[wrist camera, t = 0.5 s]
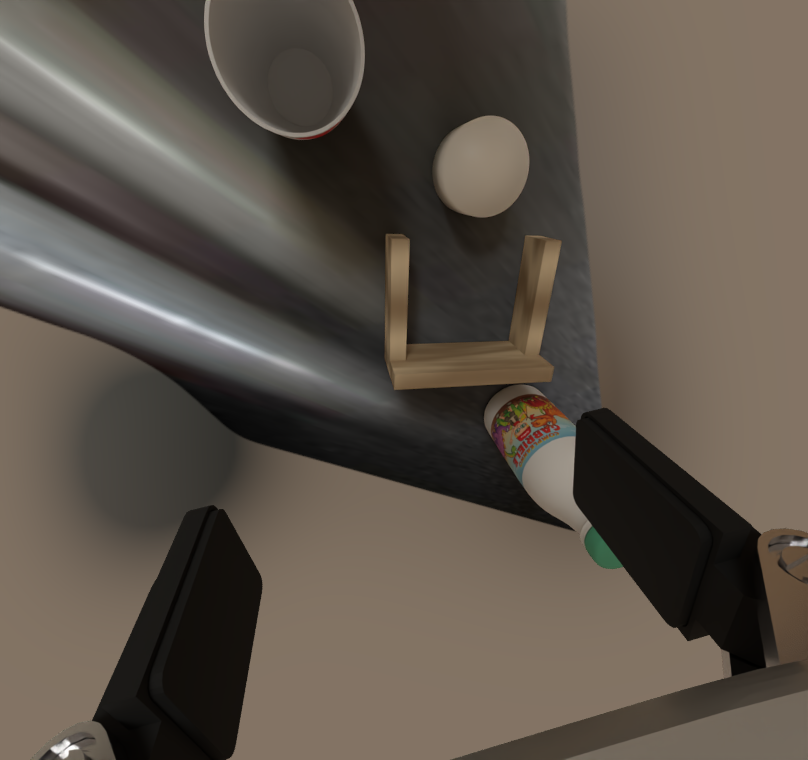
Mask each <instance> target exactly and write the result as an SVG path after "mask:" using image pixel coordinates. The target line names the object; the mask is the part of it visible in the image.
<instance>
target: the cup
mask: <svg viewBox="0 0 808 760" xmlns="http://www.w3.org/2000/svg"><path fill="white" fill-rule="evenodd" d="M204 28H205V38H206V44H207V49H208V53H209V56H210V60H211V63H212V65H213V68H214V70H215V73H216V75H217V77H218V79H219V81H220V83H221V85H222V86H223V88H224V90H225V91H226V93H227V94H228V96H229V97H230V98H231V100H232V101H233V102H234V103H235V105H236V106H237V107H238V108H239V109H240V110H241V111H242V112H243V113H244V114H245V115H246V116H247V117H249V118H250V119H251V120H252V121H254V122H255V123H257V124H258V125H260V126H262V127H263V128H265V129H267V130H269V131H272V132H274V133H276V134H279V135H281V136H284V137H287V138H290V139H296V140H309V139H315V138H318V137H321V136H323V135H325V134H327V133H329V132H330V131H332V130H333V129H334V128H335V127H336V126H337V125H338V124H339V123H340V122H341V121H342V120H343V118H344V117H345V115H346V114H347V112H348V111H349V109H350V108H351V106H352V104H353V103H354V101H355V99H356V97H357V94H358V92H359V89H360V86H361V82H362V78H363V72H364V63H365V47H364V37H363V31H362V27H361V23H360V19H359V16H358V13H357V10H356V7H355V5H354V3H353V0H206V3H205V13H204Z"/></svg>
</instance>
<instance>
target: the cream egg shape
mask: <svg viewBox="0 0 808 760" xmlns="http://www.w3.org/2000/svg"><path fill="white" fill-rule="evenodd" d="M528 172H529V151H528V147H527V144H526V141H525V139H524V137H523V135H522V133H521V132H520V130H519V129H518V128H517V127H516V126H515V125H514V124H513V123H511V122H510V121H509V120H507V119H505V118H502V117H499V116H483V117H479V118H476V119H474V120H472V121H469V122H467V123H465V124H463V125H461V126H459V127H457V128H455V129H454V130H452V131H451V132H450V133H449V134H447V135H446V137H445V138H444V139H443V140H442V142H441V143H440V145H439V147H438V149H437V151H436V153H435V156H434V160H433V167H432V178H433V184H434V187H435V190H436V193H437V195H438V197H439V198H440V200H441V201H442V202H443V203H444V204H445V205H446V206H447V207H448V208H449V209H451V210H453V211H455V212H457V213H461V214H465V215H470V216H474V217H481V218H482V217H491V216H494V215H497V214H499V213H501V212H503V211H504V210H506V209H507V208H509V207H510V206H511V205H512V204H513V203H514V202H515V201H516V199H517V198H518V197H519V195H520V194H521V192H522V190H523V188H524V186H525V183H526V180H527V177H528Z"/></svg>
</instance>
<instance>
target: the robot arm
mask: <svg viewBox="0 0 808 760" xmlns="http://www.w3.org/2000/svg"><path fill="white" fill-rule="evenodd" d="M573 498H574V500H575V503H576V505H577V506H578V508H579V509H580V510H581V512H582V513H583V514H584V516H585V517H586V518H587V519H588V521H589V522H590V523H591V525H592V526H593V527H594V529H595V530H596V531H597V533H598V534H599V535H600V537H601V538H602V539H603V540H604V542H605V543H606V544H607V546H608V547H609V548H610V550H611V551H612V552H613V554H614V555H615V556H616V558H617V559H618V560H619V561H620V563H621V564H622V565H623V567H624V568H625V569H626V571H627V572H628V573H629V575H630V576H631V577H632V578H633V580H634V581H635V582H636V584H637V585H638V586H639V588H640V589H641V590H642V592H643V593H644V594H645V595H646V597H647V598H648V599H649V601H650V602H651V603H652V605H653V606H654V607H655V609H656V610H657V611H658V613H659V614H660V615H661V617H662V618H663V619H664V620H665V622H666V623H667V624H669V625H670V626H671V627H673V628H676V627H677V628H678V629H679V630H680V632H681V633H682V634H683V636H684V637H685V638H686V639H687V641H690V640H693V639H697V638H700V637H704V636H707V635H710V636H711V638H712V639H713V640H714V641H715V642H716V644H717V645H718V646H719V647H720V648H721V651H722V663H723V674H724V679H721V680H717V681H714V682H710V683H706V684H703V685H699V686H695V687H692V688H688V689H684V690H681V691H678V692H674V693H671V694H667V695H664V696H661V697H657V698H654V699H651V700H647V701H644V702H641V703H637V704H634V705H631V706H627V707H624V708H621V709H617V710H614V711H610V712H607V713H604V714H600V715H597V716H594V717H591V718H588V719H584V720H581V721H577V722H574V723H570V724H567V725H564V726H561V727H557V728H554V729H550V730H547V731H544V732H541V733H537V734H534V735H531V736H527V737H524V738H521V739H518V740H514V741H511V742H508V743H504V744H501V745H498V746H494V747H491V748H488V749H485V750H481V751H478V752H475V753H471V754H468V755H465V756H462V757H459V758H455V759H452V760H808V533H807V532H804V531H800V530H794V529H786V528H783V529H771V530H769V531H766V532H764V533H763V534H760V533H759V532H758V531H757V530H756V529H754V528H753V527H752V525H751V524H749V523H748V522H747V521H746V520H745V519H743V518H742V517H741V516H740V515H739V514H737V513H736V512H735V511H734V510H732V509H731V508H730V507H729V506H727V505H726V504H725V503H724V502H722V501H721V500H720V499H719V498H718V497H716V496H715V495H714V494H713V493H711V492H710V491H709V490H708V489H707V488H705V487H704V486H703V485H701V484H700V483H699V482H698V481H697V480H695V479H694V478H693V477H692V476H691V475H689V474H688V473H687V472H686V471H684V470H683V469H682V468H681V467H679V466H678V465H677V464H676V463H675V462H673V461H672V460H671V459H670V458H668V457H667V456H666V455H665V454H663V453H662V452H661V451H660V450H658V449H657V448H656V447H655V446H654V445H652V444H651V443H650V442H648V441H647V440H646V439H645V438H644V437H643V436H641V435H640V434H639V433H638V432H636V431H635V430H634V429H633V428H631V427H630V426H629V425H628V424H627V423H625V422H624V421H623V420H622V419H620V418H619V417H618V416H617V415H615V414H614V413H613V412H612V411H611V410H609V409H607V408H602V409H598V410H593V411H589V412H585V413H583V414H582V416H581V419H580V420H578V421H577V423H576V438H575V457H574V477H573ZM261 594H262V578H261V575H260V573H259V571H258V570H257V568H256V566H255V564H254V562H253V561H252V559H251V557H250V555H249V554H248V552H247V550H246V548H245V546H244V544H243V543H242V541H241V539H240V537H239V536H238V534H237V532H236V530H235V528H234V526H233V525H232V523H231V521H230V519H229V517H228V516H227V514H226V512H225V511H224V510H223V509H219V510H218V509H217V508H216V507H215V506H214V505H211V506H207V507H203V508H199V509H195V510H190V511H188V512H187V513H186V515H185V516H184V518H183V521H182V523H181V525H180V527H179V530H178V532H177V535H176V536H175V539H174V541H173V543H172V546H171V548H170V550H169V552H168V555H167V557H166V559H165V561H164V564H163V566H162V568H161V570H160V573H159V575H158V577H157V579H156V580H155V582H154V584H153V586H152V587H151V590H150V592H149V594H148V597H147V599H146V601H145V603H144V605H143V608H142V610H141V612H140V614H139V617H138V619H137V621H136V624H135V626H134V628H133V630H132V633H131V634H130V637H129V639H128V641H127V643H126V646H125V648H124V650H123V653H122V655H121V657H120V659H119V661H118V664H117V666H116V668H115V670H114V673H113V675H112V677H111V679H110V681H109V684H108V686H107V688H106V690H105V693H104V695H103V697H102V699H101V702H100V704H99V706H98V709H97V711H96V713H95V715H94V717H93V720H92V721H87V722H81V723H77V724H75V725H73V726H71V727H69V728H67V729H65V730H63V731H62V732H61V733H59V734H58V735H57V736H55V737H54V738H53V739H52V740H50V741H49V742H48V743H46V744H45V745H44V746H43V747H42V748H41V749H40V750H39V751H38V752H37V753H36V754H35V755H34V756H33V757H32V758H31V760H226V759H228V758H230V757H231V756H232V754H233V752H234V750H235V745H236V740H237V734H238V729H239V723H240V717H241V711H242V705H243V699H244V693H245V687H246V681H247V676H248V670H249V664H250V658H251V652H252V646H253V641H254V635H255V629H256V623H257V617H258V611H259V606H260V600H261Z"/></svg>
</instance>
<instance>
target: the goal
mask: <svg viewBox="0 0 808 760" xmlns="http://www.w3.org/2000/svg"><path fill="white" fill-rule="evenodd" d="M561 243H562V241H560V240H556V239H552V238H548V237H543V236H527V235H525V242H524V248H523V254H522V260H521V267H520V273H519V279H518V285H517V292H516V298H515V304H514V310H513V316H512V323H511V329H510V335H509V341H488V342H459V343H430V344H406V339H407V309H408V279H409V250H410V239H409V238H407V237H406V236H404V235H403V234H386V246H385V361H386V364H387V368H388V371H389V374H390V377H391V381H392V384H393V387H394V390H401V389H420V388H439V387H457V386H476V385H495V384H514V383H532V382H551V379H552V375H553V370H554V367H553V366H552V365H551V364H550V363H549V362H547V361H546V360H545V359H544V358H542V357H541V356H540V355H539V352H540V347H541V342H542V337H543V332H544V327H545V322H546V317H547V312H548V307H549V302H550V297H551V292H552V287H553V282H554V277H555V273H556V268H557V263H558V258H559V253H560V248H561Z"/></svg>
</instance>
